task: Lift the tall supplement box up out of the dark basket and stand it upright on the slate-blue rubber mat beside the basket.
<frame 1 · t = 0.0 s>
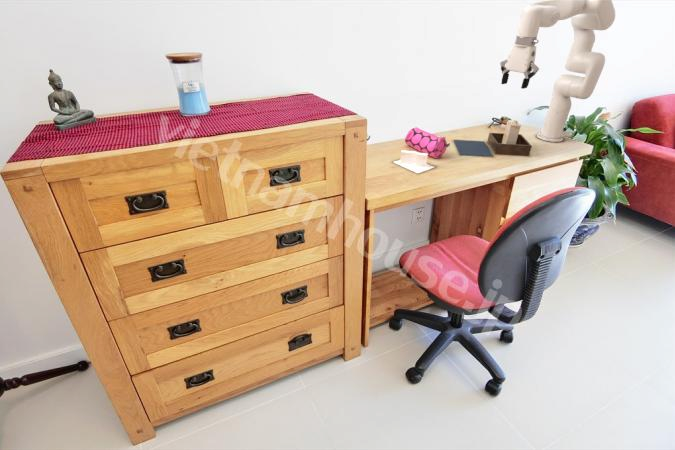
hand: (513, 85, 159), 31 cm above the table, tool pointing down, fingers open, 9 cm apart
pencil case: (424, 151, 178), on the table
napkin holder: (413, 165, 164), on the table
mat: (472, 148, 182), on the table
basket: (507, 148, 182), on the table
supplement box: (506, 149, 182), resting in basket
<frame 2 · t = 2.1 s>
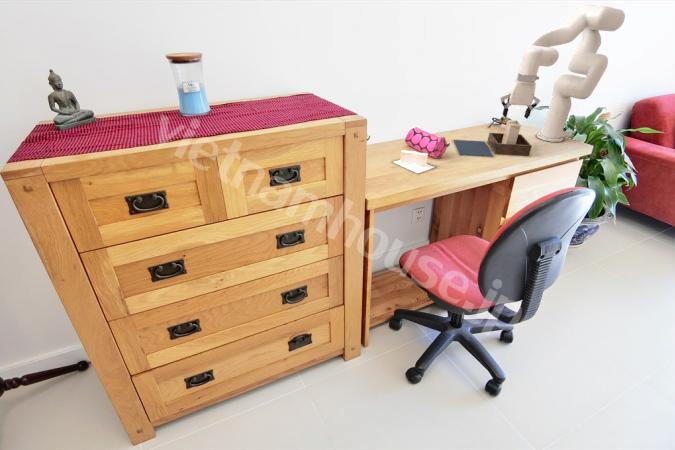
hand: (515, 117, 174), 16 cm above the table, tool pointing down, fingers open, 9 cm apart
nothing on the table moved.
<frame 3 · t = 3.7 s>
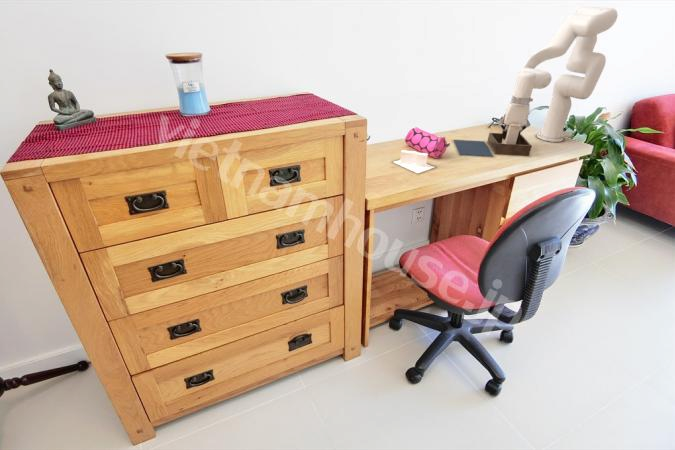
hand: (509, 138, 179), 5 cm above the table, tool pointing down, fingers closed on supplement box, 5 cm apart
supplement box: (506, 149, 182), resting in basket, touching gripper
everything else where it was.
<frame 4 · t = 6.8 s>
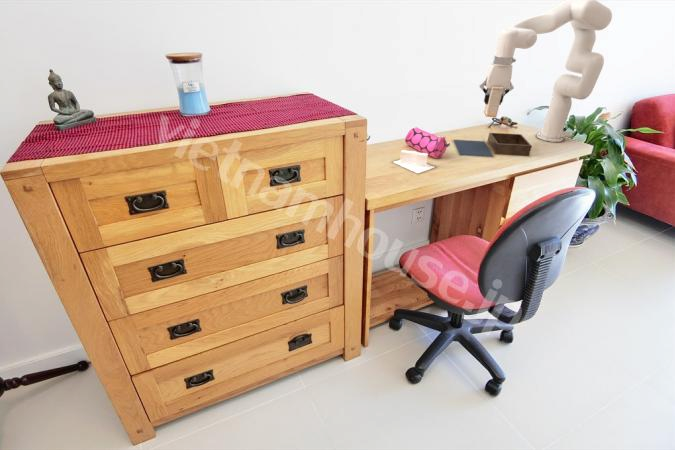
hand: (492, 103, 170), 22 cm above the table, tool pointing down, fingers closed on supplement box, 5 cm apart
supplement box: (489, 115, 173), point 16 cm above the table, touching gripper
everything else where it was.
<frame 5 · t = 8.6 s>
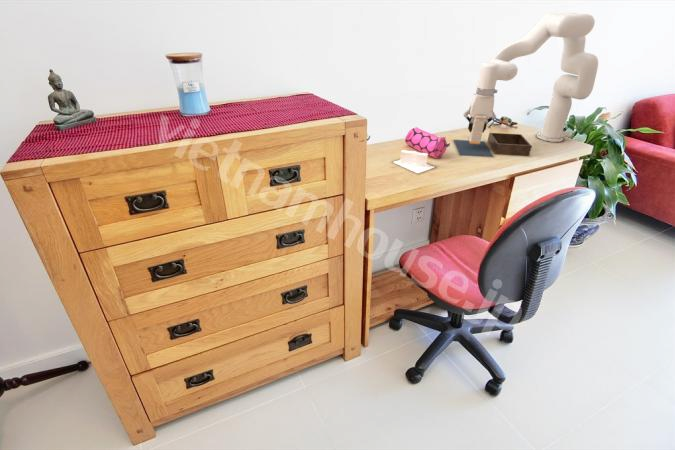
hand: (476, 130, 177), 9 cm above the table, tool pointing down, fingers closed on supplement box, 5 cm apart
supplement box: (473, 141, 180), point 3 cm above the table, touching gripper
everything else where it was.
when the fingers open (6 cm above the table, at t = 9.8 s): supplement box stays where it is, resting on mat.
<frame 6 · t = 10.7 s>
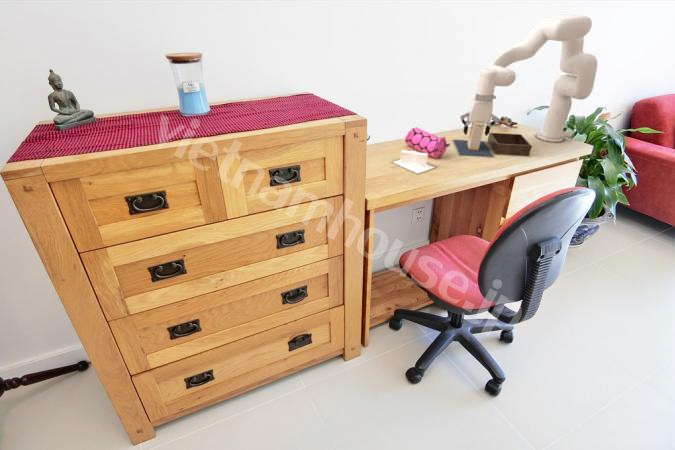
hand: (475, 134, 178), 7 cm above the table, tool pointing down, fingers open, 9 cm apart
supplement box: (472, 147, 182), resting on mat
everything else where it was.
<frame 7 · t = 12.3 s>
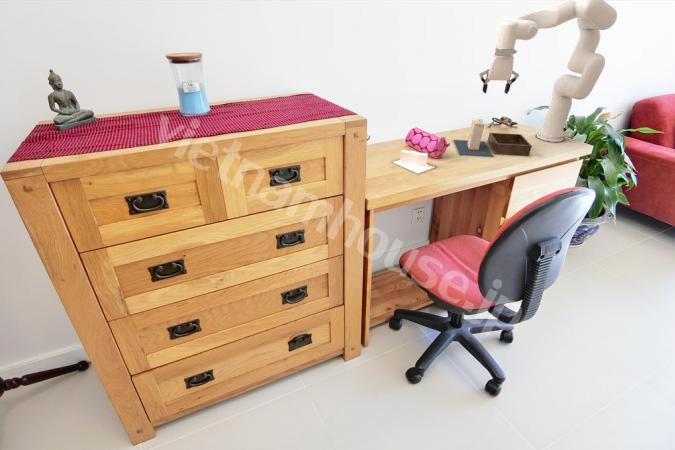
hand: (495, 92, 173), 25 cm above the table, tool pointing down, fingers open, 9 cm apart
nothing on the table moved.
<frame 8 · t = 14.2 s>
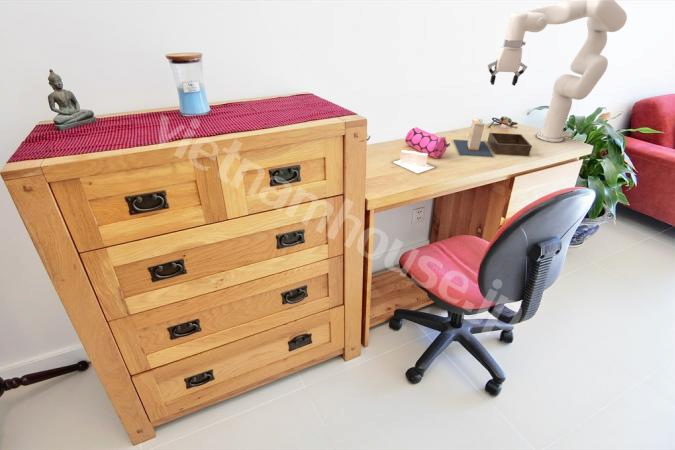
hand: (502, 84, 174), 28 cm above the table, tool pointing down, fingers open, 9 cm apart
nothing on the table moved.
at the end: supplement box inside the target area on the mat (0.1 cm from its centre), point 0.2 cm above the mat's base; supplement box tilted 0°; the gripper is holding nothing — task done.
